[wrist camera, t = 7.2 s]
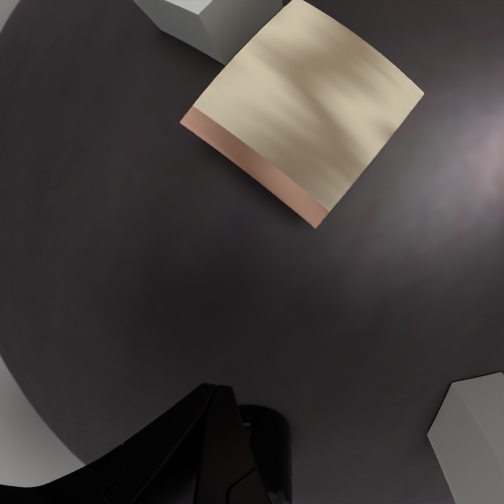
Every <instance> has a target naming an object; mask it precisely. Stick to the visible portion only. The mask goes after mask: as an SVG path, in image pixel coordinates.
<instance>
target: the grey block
mask: <svg viewBox="0 0 504 504" xmlns="http://www.w3.org/2000/svg"><path fill="white" fill-rule="evenodd" d="M133 1H134V2H135V3H136V4H137V5H138V6H139V7H140V8H141V9H142V10H143V11H144V12H145V13H146V14H147V15H148V17H149V18H150V19H151V20H152V21H153V22H154V23H155V24H156V25H157V26H158V27H159V28H160V30H162V31H164V32H166V33H168V34H170V35H172V36H174V37H176V38H178V39H180V40H182V41H184V42H186V43H187V44H189V45H191V46H193V47H195V48H196V49H198V50H200V51H202V52H204V53H205V54H207V55H209V56H210V57H212V58H214V59H216V60H217V61H219V62H221V63H222V64H224V65H226V64H227V63H228V62H229V61H230V60H231V59H232V58H233V56H234V55H235V54H236V53H237V52H238V51H239V50H240V49H241V48H242V47H243V46H244V45H245V44H246V43H247V42H248V41H249V40H250V39H251V37H252V36H253V35H254V34H255V33H256V32H257V31H258V30H259V29H260V28H261V27H262V26H263V25H265V24H266V23H267V22H268V21H269V20H270V19H271V18H272V17H273V16H274V15H275V14H276V13H277V12H278V11H279V10H280V9H281V8H282V0H133Z"/></svg>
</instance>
